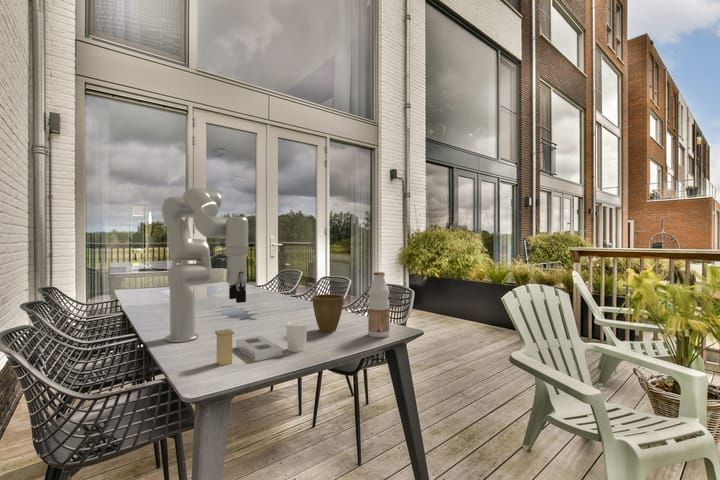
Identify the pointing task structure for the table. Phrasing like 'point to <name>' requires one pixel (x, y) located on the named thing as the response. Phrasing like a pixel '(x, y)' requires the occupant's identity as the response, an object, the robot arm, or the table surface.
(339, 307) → the plant pot
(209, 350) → the table surface
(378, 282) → the fruit juice
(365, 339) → the table surface
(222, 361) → the brass square peg
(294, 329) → the white cup
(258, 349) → the rail
